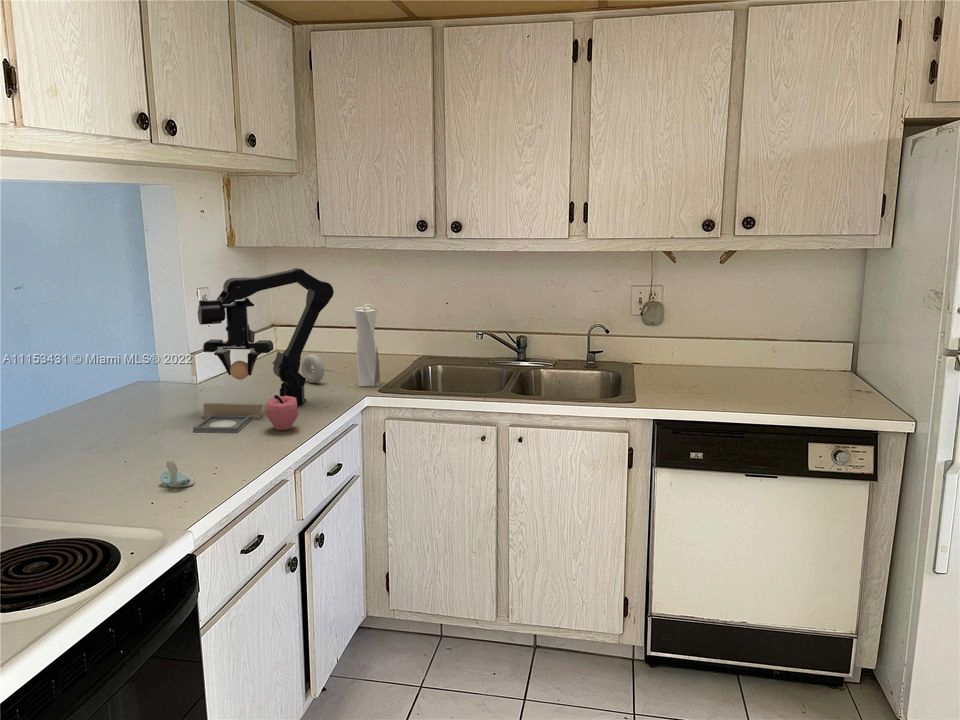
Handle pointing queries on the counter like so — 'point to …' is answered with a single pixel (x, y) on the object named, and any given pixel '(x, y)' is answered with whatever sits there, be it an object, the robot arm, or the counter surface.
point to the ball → (239, 370)
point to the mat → (223, 424)
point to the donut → (307, 368)
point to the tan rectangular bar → (232, 410)
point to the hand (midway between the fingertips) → (240, 375)
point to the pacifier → (174, 476)
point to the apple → (282, 411)
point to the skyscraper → (367, 347)
